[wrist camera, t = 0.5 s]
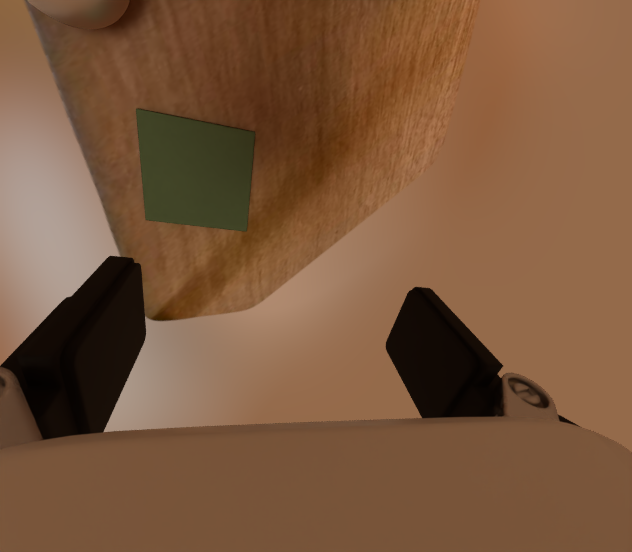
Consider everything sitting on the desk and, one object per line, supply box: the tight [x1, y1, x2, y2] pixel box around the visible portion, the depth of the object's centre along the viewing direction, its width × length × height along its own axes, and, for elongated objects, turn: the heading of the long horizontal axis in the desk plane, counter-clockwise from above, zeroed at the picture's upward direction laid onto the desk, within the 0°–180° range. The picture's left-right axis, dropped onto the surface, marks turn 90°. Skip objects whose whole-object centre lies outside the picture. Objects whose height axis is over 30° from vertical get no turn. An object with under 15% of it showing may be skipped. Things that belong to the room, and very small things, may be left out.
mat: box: [136, 109, 255, 231], centre depth 34 cm, size 12×12×1 cm
